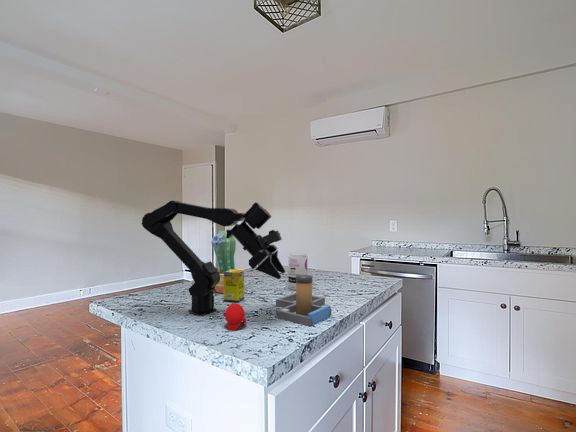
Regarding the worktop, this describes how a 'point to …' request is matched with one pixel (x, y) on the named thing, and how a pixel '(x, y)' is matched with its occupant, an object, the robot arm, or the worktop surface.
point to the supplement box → (233, 285)
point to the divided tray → (311, 319)
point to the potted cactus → (224, 255)
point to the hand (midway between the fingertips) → (282, 275)
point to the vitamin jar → (304, 294)
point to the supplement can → (296, 268)
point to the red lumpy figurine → (235, 316)
